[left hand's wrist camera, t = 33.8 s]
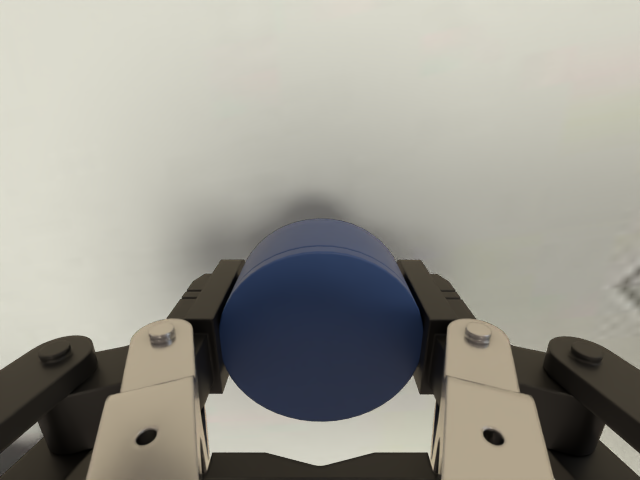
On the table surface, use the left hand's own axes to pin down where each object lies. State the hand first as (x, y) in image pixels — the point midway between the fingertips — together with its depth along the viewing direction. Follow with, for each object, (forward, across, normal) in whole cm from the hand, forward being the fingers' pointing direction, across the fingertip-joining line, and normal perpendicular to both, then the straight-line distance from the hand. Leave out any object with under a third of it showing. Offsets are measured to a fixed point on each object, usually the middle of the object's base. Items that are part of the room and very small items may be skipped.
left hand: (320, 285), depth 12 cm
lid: (-3, 0, 0) cm, 3 cm away
